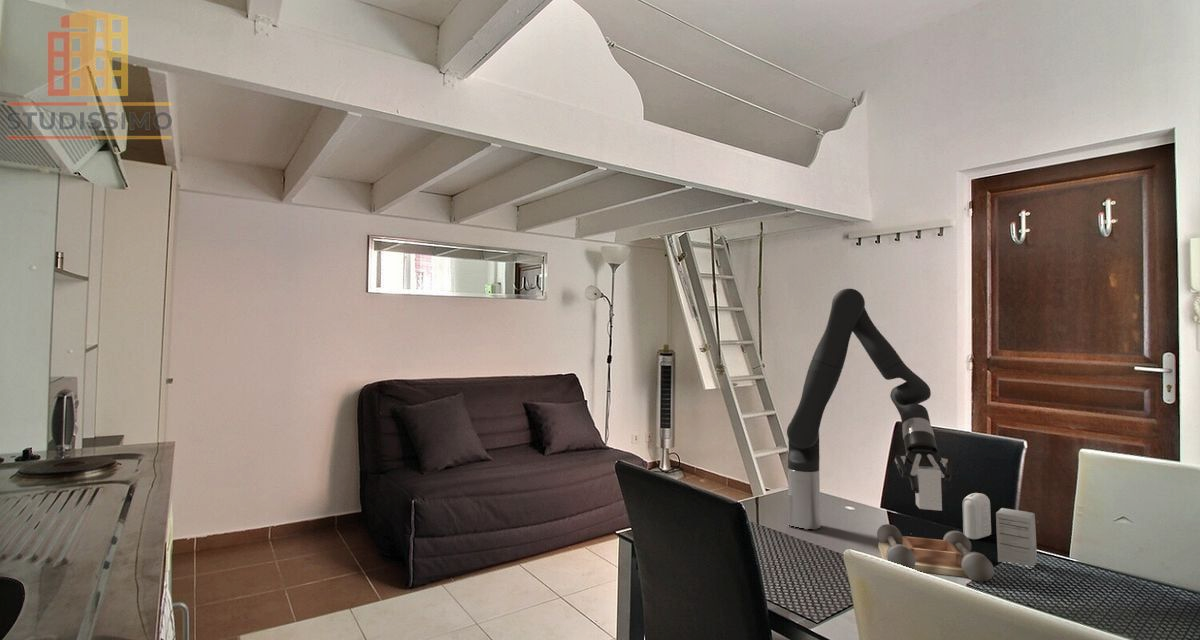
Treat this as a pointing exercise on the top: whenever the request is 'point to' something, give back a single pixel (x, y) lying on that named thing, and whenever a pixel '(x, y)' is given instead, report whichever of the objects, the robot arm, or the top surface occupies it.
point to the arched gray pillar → (976, 516)
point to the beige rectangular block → (929, 488)
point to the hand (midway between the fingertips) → (929, 492)
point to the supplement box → (1016, 537)
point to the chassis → (934, 554)
